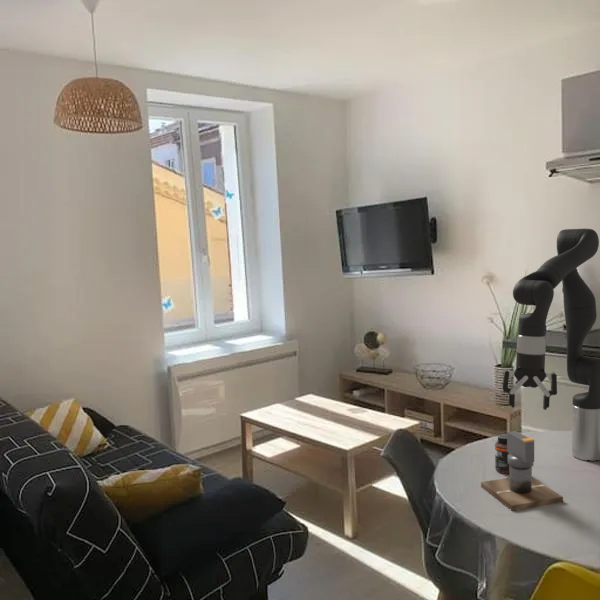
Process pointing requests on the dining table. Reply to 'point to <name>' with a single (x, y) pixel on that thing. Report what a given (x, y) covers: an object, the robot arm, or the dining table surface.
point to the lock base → (521, 498)
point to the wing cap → (520, 450)
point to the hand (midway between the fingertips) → (528, 408)
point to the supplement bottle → (501, 454)
